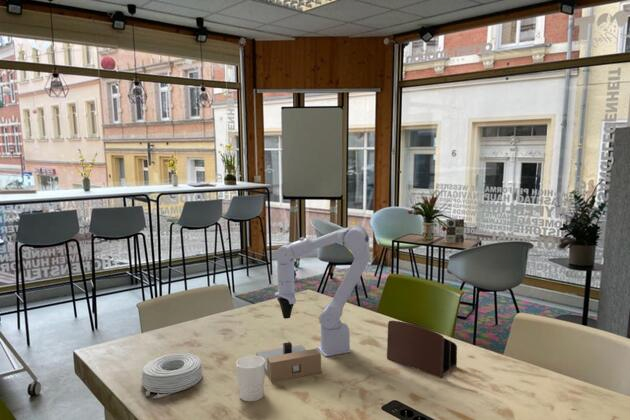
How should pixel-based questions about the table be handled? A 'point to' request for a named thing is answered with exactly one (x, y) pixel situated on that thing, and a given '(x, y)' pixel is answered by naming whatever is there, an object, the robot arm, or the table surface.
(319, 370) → the door and jamb
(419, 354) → the letter holder
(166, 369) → the cable
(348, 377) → the table surface
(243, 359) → the white cup
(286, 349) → the bolt
